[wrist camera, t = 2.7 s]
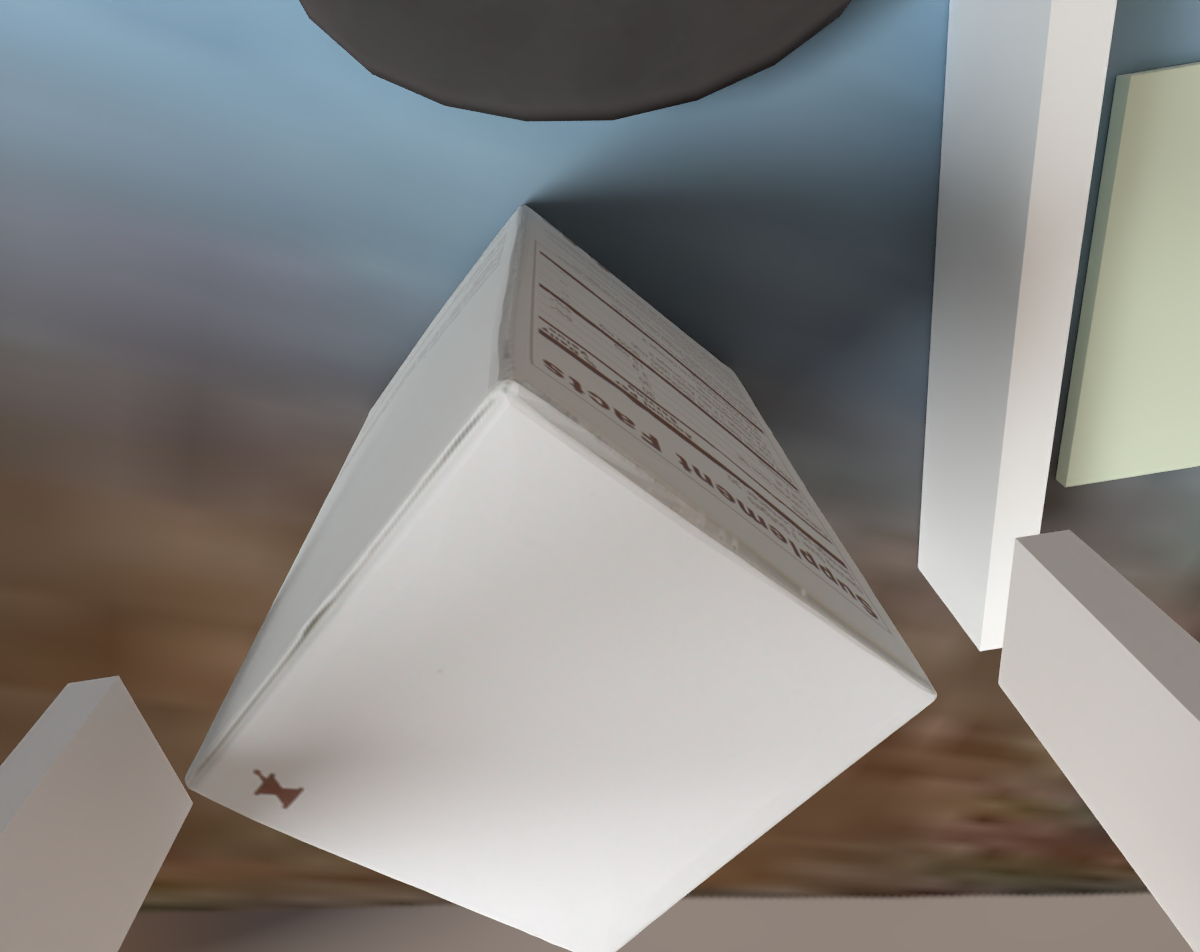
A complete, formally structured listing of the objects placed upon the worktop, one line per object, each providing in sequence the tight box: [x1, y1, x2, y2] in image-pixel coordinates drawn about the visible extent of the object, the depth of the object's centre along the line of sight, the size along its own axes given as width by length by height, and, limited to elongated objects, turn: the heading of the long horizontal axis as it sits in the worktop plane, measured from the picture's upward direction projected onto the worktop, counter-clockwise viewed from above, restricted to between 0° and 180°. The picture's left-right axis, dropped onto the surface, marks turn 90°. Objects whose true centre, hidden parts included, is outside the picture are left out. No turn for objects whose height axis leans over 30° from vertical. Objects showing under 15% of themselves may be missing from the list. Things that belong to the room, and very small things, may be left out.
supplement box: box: [185, 205, 937, 952], centre depth 15 cm, size 7×7×13 cm
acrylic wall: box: [918, 0, 1117, 651], centre depth 19 cm, size 16×1×4 cm, turn 9°
